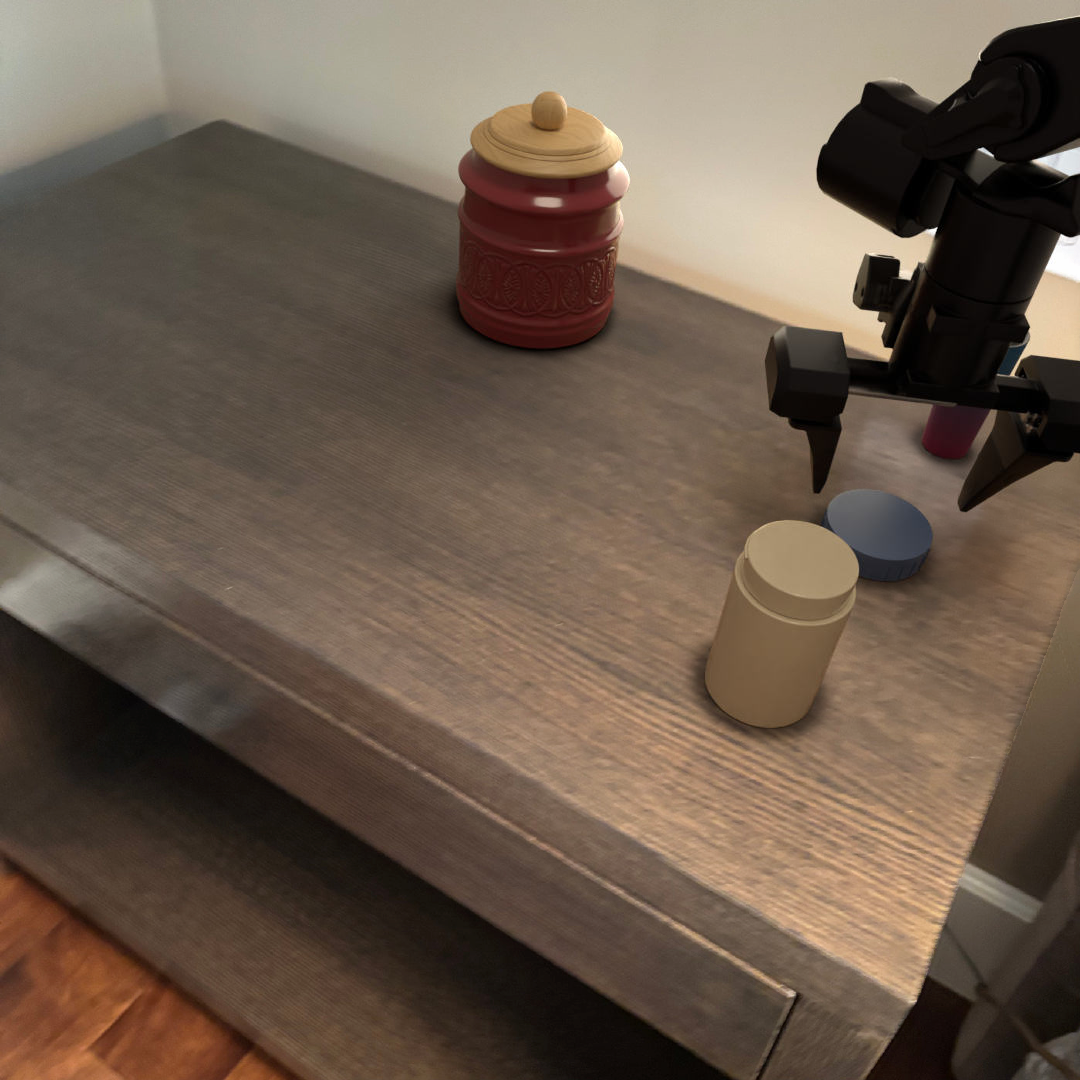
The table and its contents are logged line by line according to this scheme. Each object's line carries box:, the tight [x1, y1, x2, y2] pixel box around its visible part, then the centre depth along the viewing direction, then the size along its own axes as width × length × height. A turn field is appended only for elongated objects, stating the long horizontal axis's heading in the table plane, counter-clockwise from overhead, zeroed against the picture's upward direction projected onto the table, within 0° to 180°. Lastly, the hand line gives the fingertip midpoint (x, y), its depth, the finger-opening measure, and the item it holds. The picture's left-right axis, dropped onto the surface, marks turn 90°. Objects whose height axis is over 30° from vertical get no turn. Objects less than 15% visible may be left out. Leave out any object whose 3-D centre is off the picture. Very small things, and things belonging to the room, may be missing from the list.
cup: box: [921, 330, 1031, 460], centre depth 72 cm, size 4×4×10 cm
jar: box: [704, 519, 860, 729], centre depth 55 cm, size 6×6×10 cm
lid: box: [820, 488, 934, 582], centre depth 67 cm, size 7×7×2 cm
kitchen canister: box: [455, 90, 631, 349], centre depth 79 cm, size 13×13×18 cm
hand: (888, 498), depth 65 cm, fingers open, 9 cm apart
